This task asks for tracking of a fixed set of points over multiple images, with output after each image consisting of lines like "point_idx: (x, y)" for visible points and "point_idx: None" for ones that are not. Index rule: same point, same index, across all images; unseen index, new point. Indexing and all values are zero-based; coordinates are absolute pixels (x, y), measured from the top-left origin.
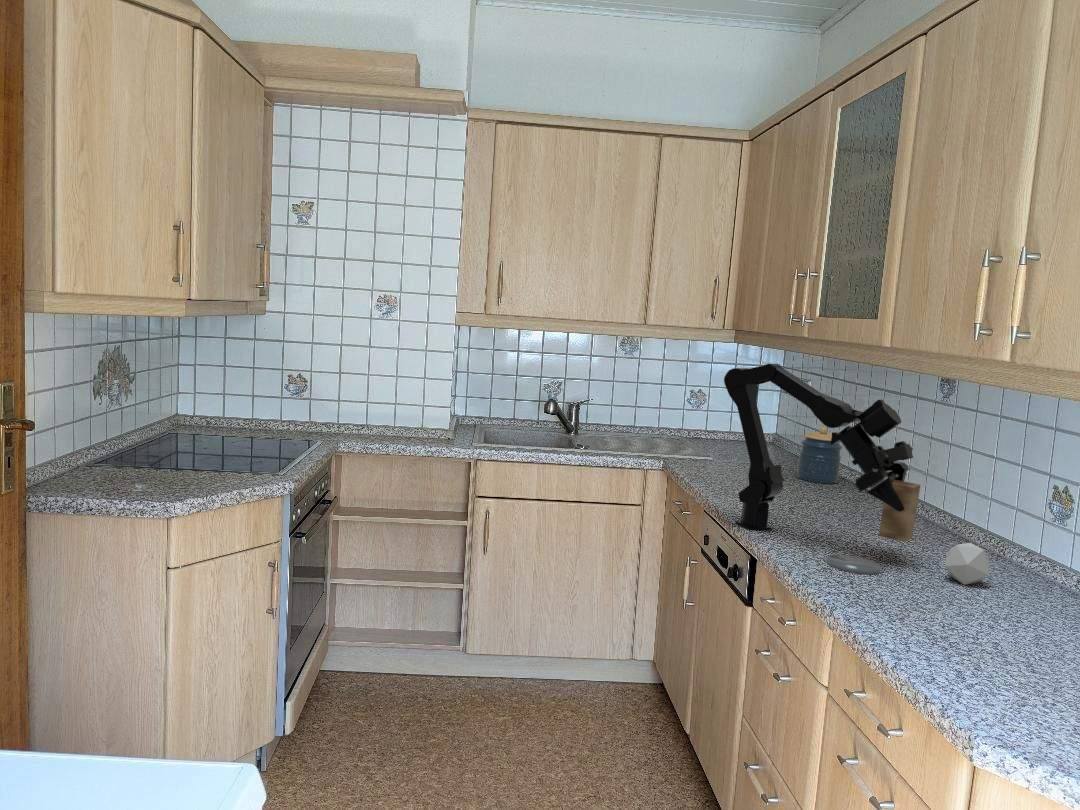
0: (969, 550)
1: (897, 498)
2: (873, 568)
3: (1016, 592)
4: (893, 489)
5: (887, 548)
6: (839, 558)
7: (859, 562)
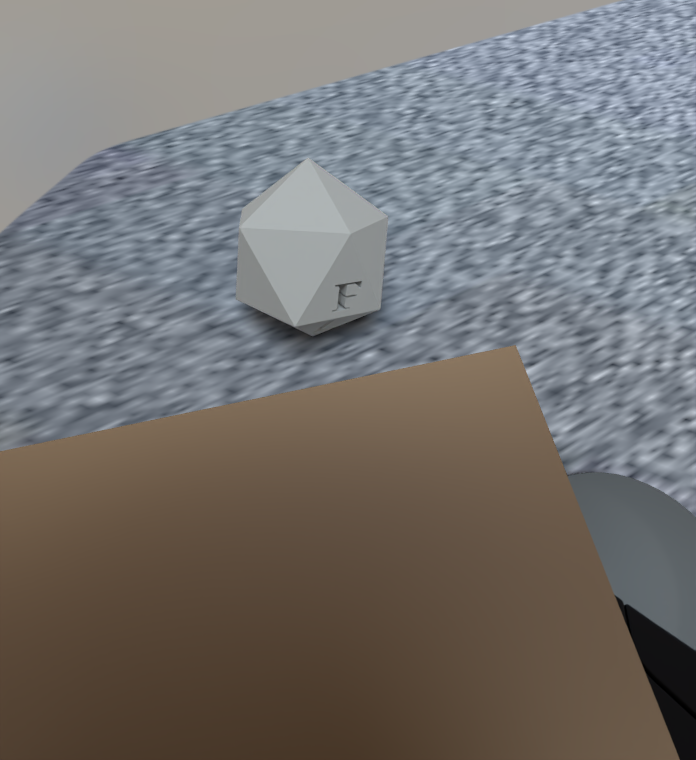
0: (341, 199)
1: None
2: (592, 493)
3: None
4: (688, 736)
5: None
6: None
7: None
